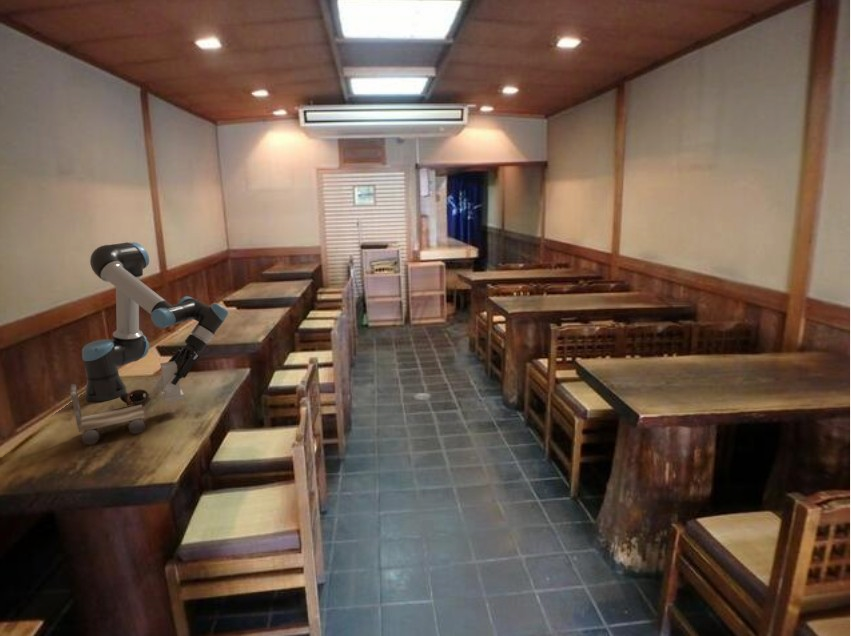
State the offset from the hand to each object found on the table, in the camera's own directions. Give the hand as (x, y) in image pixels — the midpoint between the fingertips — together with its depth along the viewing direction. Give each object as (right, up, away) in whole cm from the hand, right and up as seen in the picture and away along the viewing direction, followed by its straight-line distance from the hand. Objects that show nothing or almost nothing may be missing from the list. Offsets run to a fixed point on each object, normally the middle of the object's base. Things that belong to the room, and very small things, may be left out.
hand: (162, 388), depth 200 cm
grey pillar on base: (+2, -4, +4) cm, 6 cm away
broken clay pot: (-16, -9, +11) cm, 22 cm away
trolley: (-11, -14, -12) cm, 22 cm away
